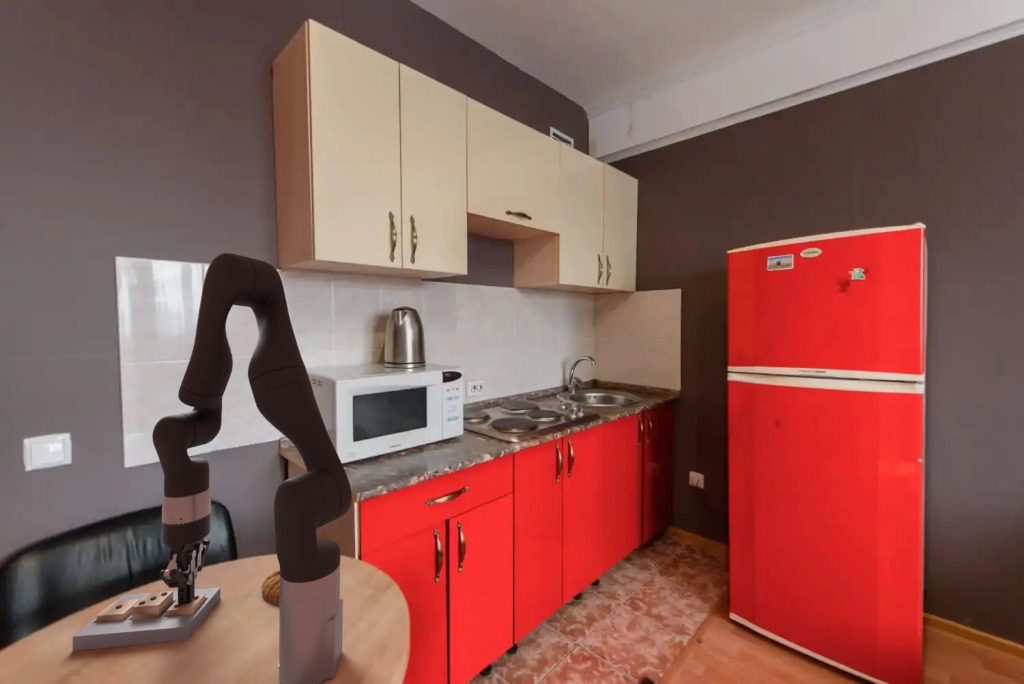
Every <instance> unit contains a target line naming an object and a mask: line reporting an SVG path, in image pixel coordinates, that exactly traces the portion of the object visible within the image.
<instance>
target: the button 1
mask: <svg viewBox="0 0 1024 684" xmlns="http://www.w3.org/2000/svg"><path fill="white" fill-rule="evenodd" d="M138 601H140V599H133V600H120V601H116V600H114V601H113V602H111V603H110V604H109V605H108V606H107V607H105V608H104V609H103V610H102V611H100V612H99V613H98V614H97V615H96V617H97V623H102V622H114V621H125V620H126V619H127V618H128V617H129V616H130V615H131V614H132V607H133V606H134V605H135V604H136V603H137V602H138Z"/></svg>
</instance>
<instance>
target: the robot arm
mask: <svg viewBox="0 0 1024 684" xmlns="http://www.w3.org/2000/svg"><path fill="white" fill-rule="evenodd" d="M201 290H202V291H201V296H200V302H199V308H198V313H197V314H198V316H197V321H196V322H197V323H196V327H195V328H196V329H195V337H194V342H193V347H192V351H191V355H190V359H189V361H188V363H187V366H186V370H185V372H184V376H183V377H182V380H181V382H180V387H179V389H178V392H177V393H178V395H177V397H178V400H179V401H180V402H181V403H182V404H184V405H186V406H189V407H191V408H193V409H192V410H191V411H185V412H180V413H174V414H169V415H166V416H163V417H162V418H160V419H159V420H158V421H157V422H156V424H155V425H154V428H153V430H152V435H151V436H152V437H151V439H152V443H153V446H154V450H155V452H156V454H157V457H158V459H159V462H160V466H161V469H162V472H163V501H162V505H161V506H162V507H161V542H162V544H163V545H165V546H167V547H168V548H169V552H168V556H167V557H168V558H167V559H168V562H169V563H168V565H167V567H166V569H161V570H160V571H159V573H158V577H159V579H161V580H162V582H164V584H165V585H166V586H167V587H168V588H169V589H175V588H177V591H178V603H179V604H188V603H190V602H191V600H192V599H193V598H194V596H195V589H196V588H195V585H196V583H195V582H196V581H195V580H196V579H197V578H198V574H199V573H200V572H202V570H203V567H204V563H205V560H206V557H207V554H208V551H209V547H210V545H211V539H205V538H206V537H207V536H209V535H210V532H211V514H212V513H211V508H212V507H211V506H212V505H211V503H212V500H211V499H212V498H211V492H210V491H211V490H210V464H209V462H208V460H207V459H205V458H201V457H190V456H189V453H188V449H189V450H190V449H192V448H196V447H200V446H204V445H207V444H209V443H211V442H212V441H213V440H214V439H216V438H217V436H218V434H219V433H220V430H221V427H222V423H223V422H222V421H223V419H222V418H223V417H222V415H223V397H224V394H225V392H226V389H227V387H228V383H229V381H230V378H231V376H232V372H233V368H234V367H233V366H234V365H233V364H234V360H233V359H234V358H233V354H232V350H231V347H230V343H229V340H228V339H229V338H228V337H227V335H228V334H227V327H226V326H227V325H226V324H227V320H228V316H229V313H230V311H231V309H232V307H233V306H239V307H248V308H250V309H251V310H252V312H253V315H254V317H255V320H256V321H255V322H256V325H257V330H258V331H257V332H258V338H257V341H256V344H255V347H254V350H253V352H252V355H251V357H250V361H249V362H248V363H249V364H248V367H247V379H248V382H249V385H250V389H251V393H252V396H253V400H254V402H255V405H256V408H257V411H259V413H260V414H261V416H262V417H263V418H264V419H265V421H267V422H268V423H269V424H271V426H273V427H274V428H275V429H276V430H277V431H279V432H280V433H281V434H282V435H283V436H285V438H286V439H288V440H289V441H290V442H291V443H292V444H293V445H294V447H295V448H296V450H297V451H298V453H299V455H300V456H301V459H302V460H303V463H304V466H305V469H306V472H305V473H302V474H299V475H295V476H293V477H289V478H288V479H285V480H284V481H282V482H281V483H280V484H279V486H277V490H276V492H275V495H274V501H273V514H274V515H273V518H274V519H273V520H274V535H275V536H274V537H275V553H276V559H277V560H278V565H279V570H280V605H278V606H279V609H278V610H279V618H278V619H279V621H278V623H279V627H278V631H279V632H278V679H279V682H280V684H320V683H322V682H324V681H326V680H329V679H334V678H335V677H336V673H337V669H338V666H339V663H340V661H341V656H342V653H343V621H344V620H343V619H344V617H343V614H344V613H343V612H344V610H343V609H344V605H343V604H344V602H343V601H344V600H343V599H341V547H340V545H339V544H338V543H337V542H336V541H334V540H332V539H328V538H327V539H326V538H319V537H318V536H317V534H318V533H317V529H319V528H321V527H323V526H326V525H327V524H329V523H331V522H334V521H335V520H338V519H339V518H342V517H343V516H344V515H346V514H347V513H348V512H349V510H350V508H351V505H352V501H353V500H352V499H353V496H352V495H353V494H352V493H353V492H352V488H351V483H350V481H349V477H348V475H347V472H346V470H345V467H344V466H343V464H342V461H341V459H340V457H339V454H338V453H337V451H336V450H337V449H336V448H335V446H334V444H333V441H332V439H331V437H330V434H329V432H328V430H327V426H326V425H325V421H324V419H323V417H322V414H321V411H320V408H319V405H318V403H317V400H316V396H315V393H314V390H313V386H312V382H311V379H310V377H309V373H308V371H307V367H306V364H305V363H304V360H303V358H302V354H301V351H300V349H299V346H298V342H297V338H296V336H295V332H294V329H293V324H292V321H291V317H290V313H289V307H288V303H287V298H286V292H285V288H284V285H283V280H282V278H281V275H280V273H279V272H278V269H277V268H276V267H275V266H274V265H273V264H271V263H269V262H267V261H265V260H260V259H256V258H251V257H248V256H244V255H241V254H240V255H239V254H235V253H229V252H224V253H220V254H218V255H216V256H214V258H213V259H212V260H211V261H210V264H209V265H208V268H207V269H206V272H205V276H204V279H203V284H202V289H201Z"/></svg>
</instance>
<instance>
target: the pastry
mask: <svg viewBox="0 0 1024 684" xmlns="http://www.w3.org/2000/svg"><path fill="white" fill-rule="evenodd" d="M261 595H262V596H263V598H264V599H265V600H266V601H268V602H270V603H272V604H274V603H275V604H274V605H276V604H277V606H279V605H280V569H279V570H277V571H273V573H271V574H270V575H268V576H267V577H266V578H265V580H263V583H262V584H261Z"/></svg>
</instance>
